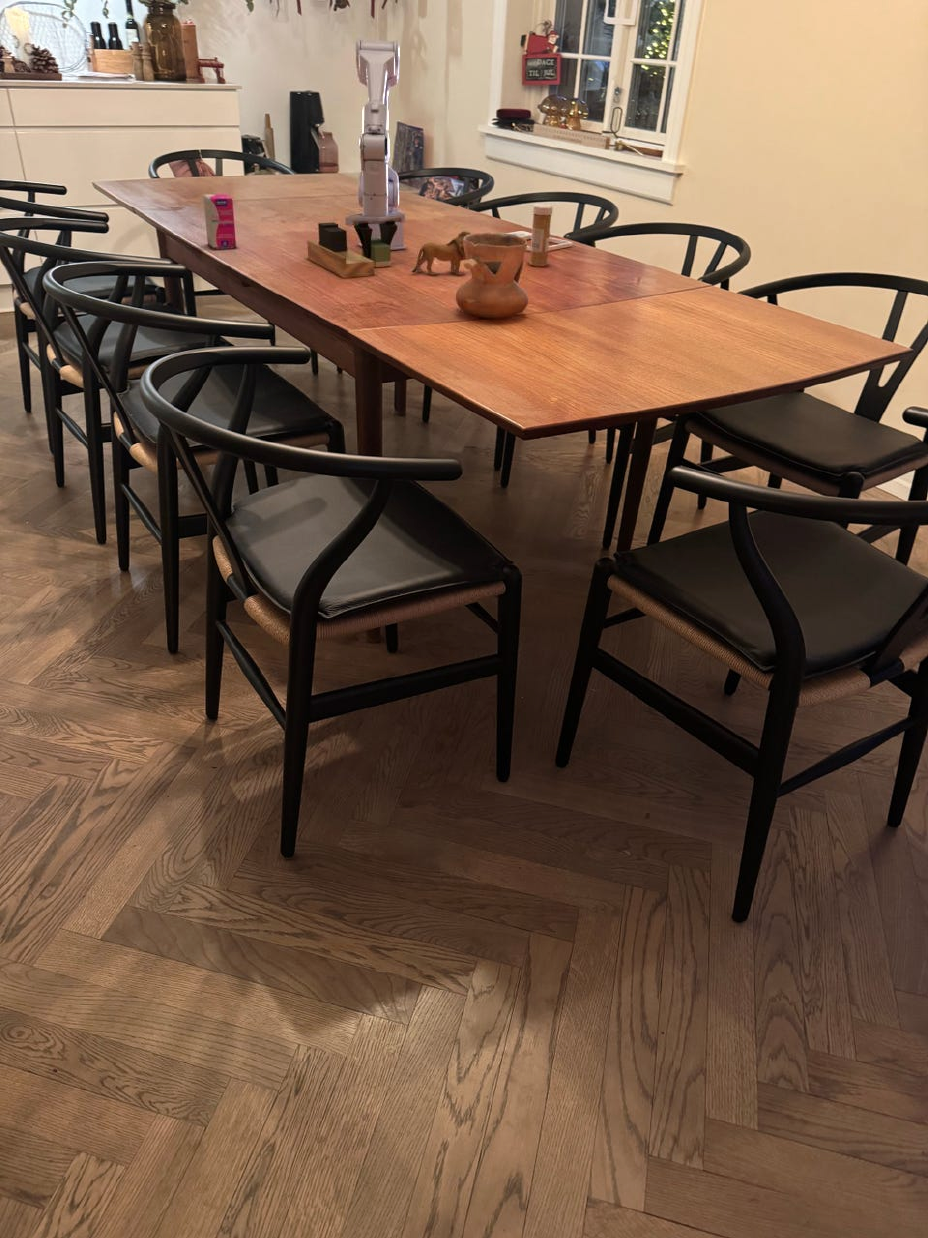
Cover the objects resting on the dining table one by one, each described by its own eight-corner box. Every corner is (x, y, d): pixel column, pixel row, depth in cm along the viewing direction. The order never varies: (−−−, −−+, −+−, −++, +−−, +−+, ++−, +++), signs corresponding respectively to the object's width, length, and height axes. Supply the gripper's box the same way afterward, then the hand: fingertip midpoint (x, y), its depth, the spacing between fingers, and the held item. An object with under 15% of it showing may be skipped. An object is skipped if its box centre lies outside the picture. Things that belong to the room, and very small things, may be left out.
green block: (376, 258, 213) (376, 236, 210) (391, 265, 208) (390, 243, 205) (361, 260, 211) (361, 237, 208) (375, 267, 206) (375, 244, 203)
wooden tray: (337, 256, 214) (336, 237, 211) (374, 275, 200) (374, 255, 198) (308, 258, 210) (307, 239, 208) (344, 278, 197) (343, 258, 194)
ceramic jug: (493, 330, 168) (498, 250, 160) (436, 314, 176) (438, 237, 168) (547, 312, 180) (554, 238, 172) (491, 298, 187) (495, 226, 179)
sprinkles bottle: (551, 265, 215) (556, 205, 207) (536, 267, 213) (541, 206, 205) (539, 261, 218) (545, 202, 211) (524, 263, 216) (529, 203, 208)
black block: (334, 244, 211) (333, 221, 208) (347, 251, 206) (346, 227, 203) (318, 245, 209) (317, 222, 206) (331, 252, 204) (330, 229, 201)
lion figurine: (468, 269, 208) (470, 228, 203) (476, 274, 204) (478, 233, 199) (408, 271, 204) (408, 230, 199) (415, 277, 200) (416, 234, 195)
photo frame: (521, 229, 244) (573, 241, 234) (521, 234, 245) (572, 245, 235) (485, 236, 235) (538, 248, 225) (485, 240, 236) (537, 252, 226)
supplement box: (213, 249, 214) (208, 198, 207) (207, 244, 218) (201, 193, 212) (237, 248, 216) (232, 197, 210) (230, 243, 220) (225, 193, 214)
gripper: (353, 198, 195) (355, 262, 202) (411, 195, 201) (411, 257, 209) (340, 192, 200) (342, 256, 207) (397, 190, 206) (397, 251, 214)
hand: (376, 256), depth 209 cm, fingers closed on green block, 4 cm apart
